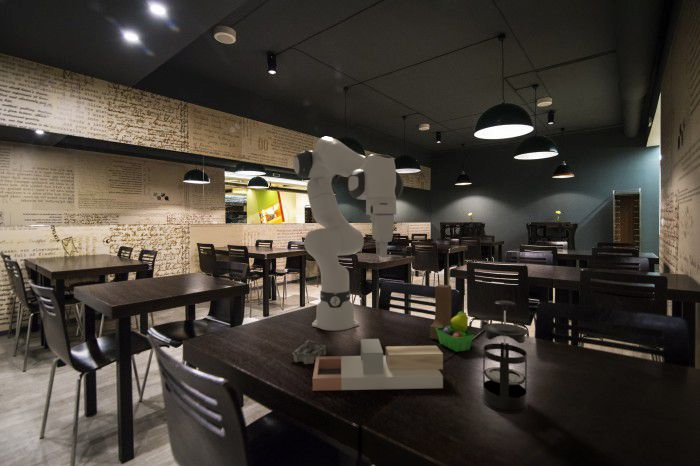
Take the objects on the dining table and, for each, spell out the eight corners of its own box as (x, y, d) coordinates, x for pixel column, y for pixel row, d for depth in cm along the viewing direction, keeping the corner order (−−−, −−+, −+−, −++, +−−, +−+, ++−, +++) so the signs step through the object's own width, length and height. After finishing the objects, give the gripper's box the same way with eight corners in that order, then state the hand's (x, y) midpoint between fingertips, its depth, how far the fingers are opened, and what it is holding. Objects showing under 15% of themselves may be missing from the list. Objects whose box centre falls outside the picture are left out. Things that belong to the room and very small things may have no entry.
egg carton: (310, 350, 113) (310, 337, 113) (329, 354, 109) (329, 341, 109) (289, 361, 103) (288, 347, 103) (309, 366, 100) (309, 352, 100)
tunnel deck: (316, 367, 99) (316, 337, 98) (428, 365, 100) (428, 336, 99) (312, 390, 85) (312, 356, 84) (442, 388, 86) (442, 354, 85)
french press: (528, 419, 72) (529, 308, 71) (480, 409, 76) (480, 304, 75) (526, 394, 82) (526, 297, 82) (483, 386, 86) (484, 294, 86)
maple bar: (385, 361, 95) (385, 346, 95) (436, 360, 96) (436, 345, 96) (388, 370, 89) (388, 354, 89) (442, 369, 90) (443, 353, 90)
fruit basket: (434, 342, 119) (434, 309, 118) (455, 339, 122) (455, 307, 122) (455, 354, 108) (455, 318, 108) (478, 350, 111) (478, 315, 111)
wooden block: (441, 341, 120) (441, 289, 120) (429, 338, 123) (429, 287, 122) (451, 334, 127) (451, 285, 127) (439, 332, 130) (439, 284, 129)
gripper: (367, 210, 112) (367, 253, 113) (373, 207, 92) (373, 259, 92) (386, 210, 113) (387, 253, 113) (397, 207, 92) (397, 259, 92)
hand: (381, 256), depth 102 cm, fingers open, 8 cm apart
